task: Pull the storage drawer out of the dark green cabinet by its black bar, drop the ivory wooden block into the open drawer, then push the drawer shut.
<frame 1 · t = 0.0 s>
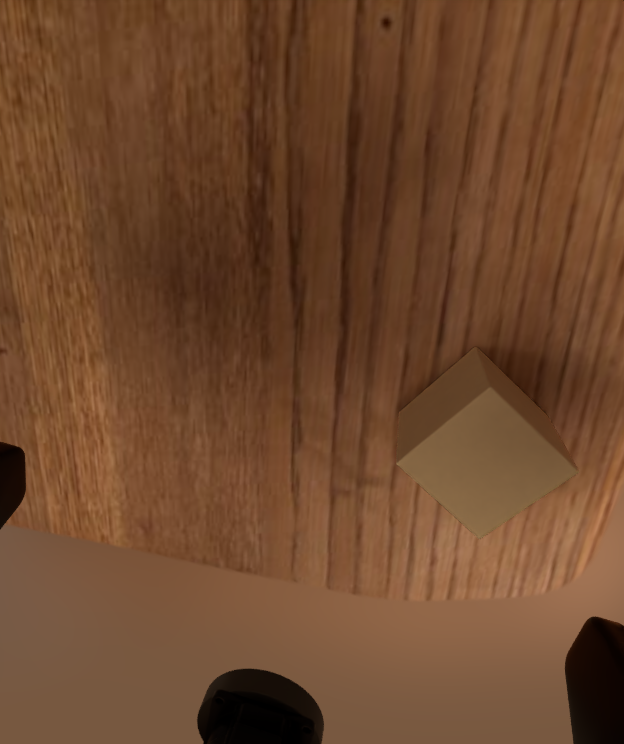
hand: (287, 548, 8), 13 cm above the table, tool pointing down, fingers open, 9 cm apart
block: (471, 414, 20), on the table
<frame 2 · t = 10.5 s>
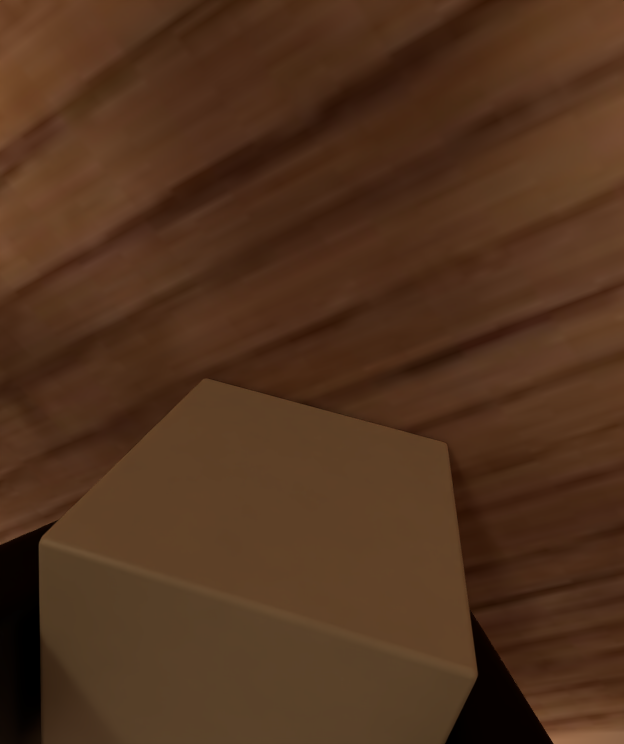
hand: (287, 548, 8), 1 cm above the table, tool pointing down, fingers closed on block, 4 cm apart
block: (299, 508, 9), on the table, touching gripper
when the fingers open (8 cm above the table, at t = 16.6 s): block stays where it is, resting on drawer.
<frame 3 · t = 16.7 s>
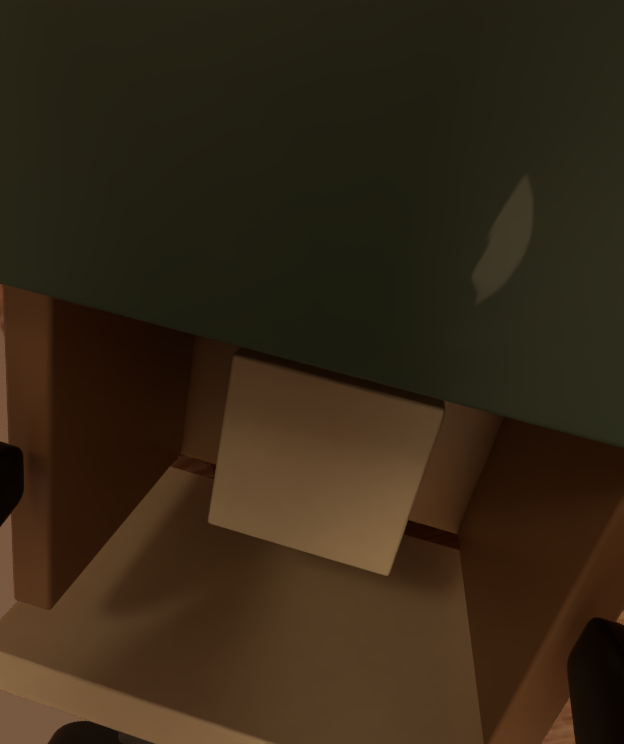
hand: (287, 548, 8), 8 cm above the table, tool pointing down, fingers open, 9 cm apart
block: (341, 392, 14), point 2 cm above the table, touching drawer
drawer: (312, 491, 12), point 5 cm above the table, slide at 8.1 cm, touching block
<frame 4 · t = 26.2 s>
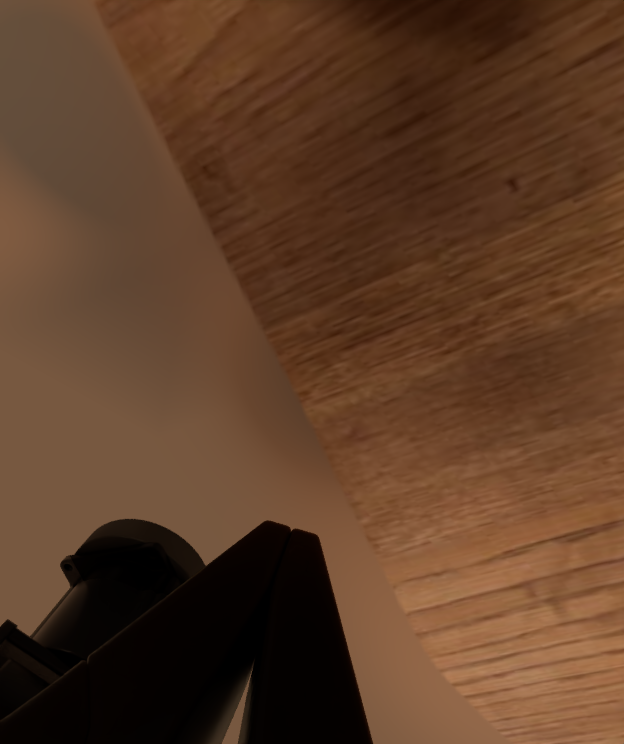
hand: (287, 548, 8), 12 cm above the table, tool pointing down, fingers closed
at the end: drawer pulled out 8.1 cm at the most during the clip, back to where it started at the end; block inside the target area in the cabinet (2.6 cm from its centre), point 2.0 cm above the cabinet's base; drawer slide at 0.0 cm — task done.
